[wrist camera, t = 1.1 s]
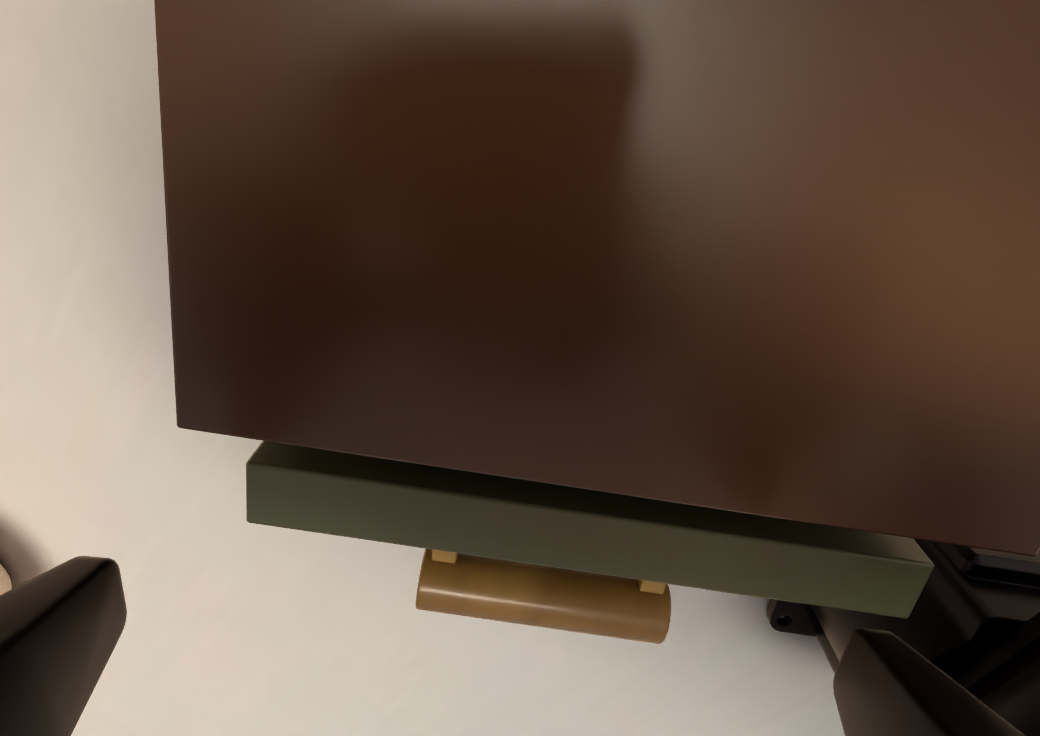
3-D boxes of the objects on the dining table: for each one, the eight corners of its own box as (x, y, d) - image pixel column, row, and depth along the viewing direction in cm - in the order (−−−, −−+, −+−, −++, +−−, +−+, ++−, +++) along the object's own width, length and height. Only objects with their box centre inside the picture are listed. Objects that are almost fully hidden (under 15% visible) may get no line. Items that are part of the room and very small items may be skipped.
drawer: (714, 529, 22) (817, 800, 13) (359, 476, 21) (246, 722, 13) (945, -167, 14) (1469, -483, 6) (413, -267, 14) (234, -745, 6)
